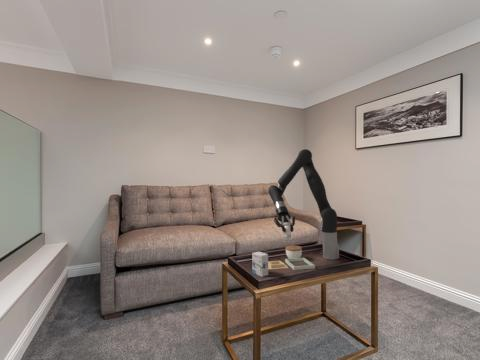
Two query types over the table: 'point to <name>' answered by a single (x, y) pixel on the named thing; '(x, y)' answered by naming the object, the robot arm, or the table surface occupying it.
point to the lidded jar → (293, 251)
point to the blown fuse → (287, 230)
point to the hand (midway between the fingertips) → (288, 231)
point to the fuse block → (276, 265)
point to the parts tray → (309, 266)
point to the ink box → (260, 263)
